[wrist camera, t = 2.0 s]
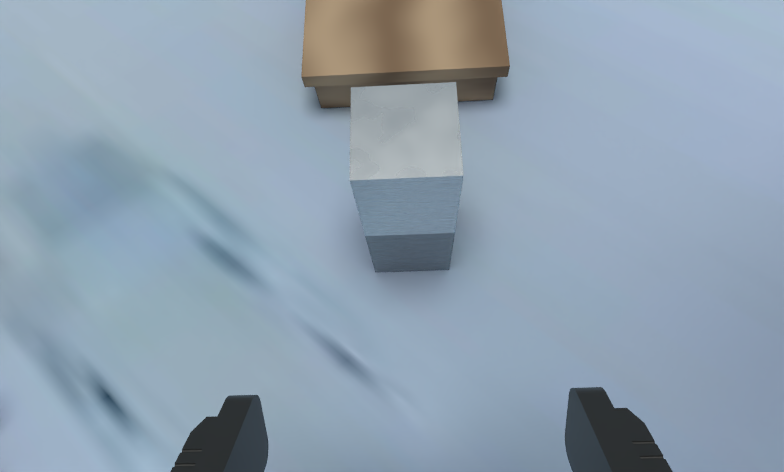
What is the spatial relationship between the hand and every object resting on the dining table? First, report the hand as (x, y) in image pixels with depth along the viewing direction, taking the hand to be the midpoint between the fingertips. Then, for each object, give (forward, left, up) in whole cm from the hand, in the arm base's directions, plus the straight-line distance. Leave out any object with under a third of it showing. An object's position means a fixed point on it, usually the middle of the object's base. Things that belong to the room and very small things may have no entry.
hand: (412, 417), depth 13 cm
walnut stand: (0, -27, -16) cm, 32 cm away
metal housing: (0, -11, -16) cm, 20 cm away
